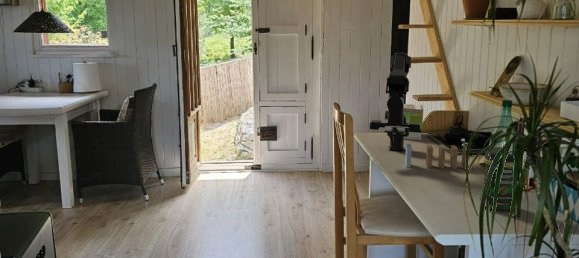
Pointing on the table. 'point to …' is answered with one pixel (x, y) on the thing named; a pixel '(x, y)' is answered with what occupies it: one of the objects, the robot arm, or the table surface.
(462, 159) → the domino
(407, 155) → the blue-grey rectangular block
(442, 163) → the domino
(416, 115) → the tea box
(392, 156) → the table surface
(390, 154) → the table surface
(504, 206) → the coffee jar
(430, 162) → the domino
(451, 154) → the domino
